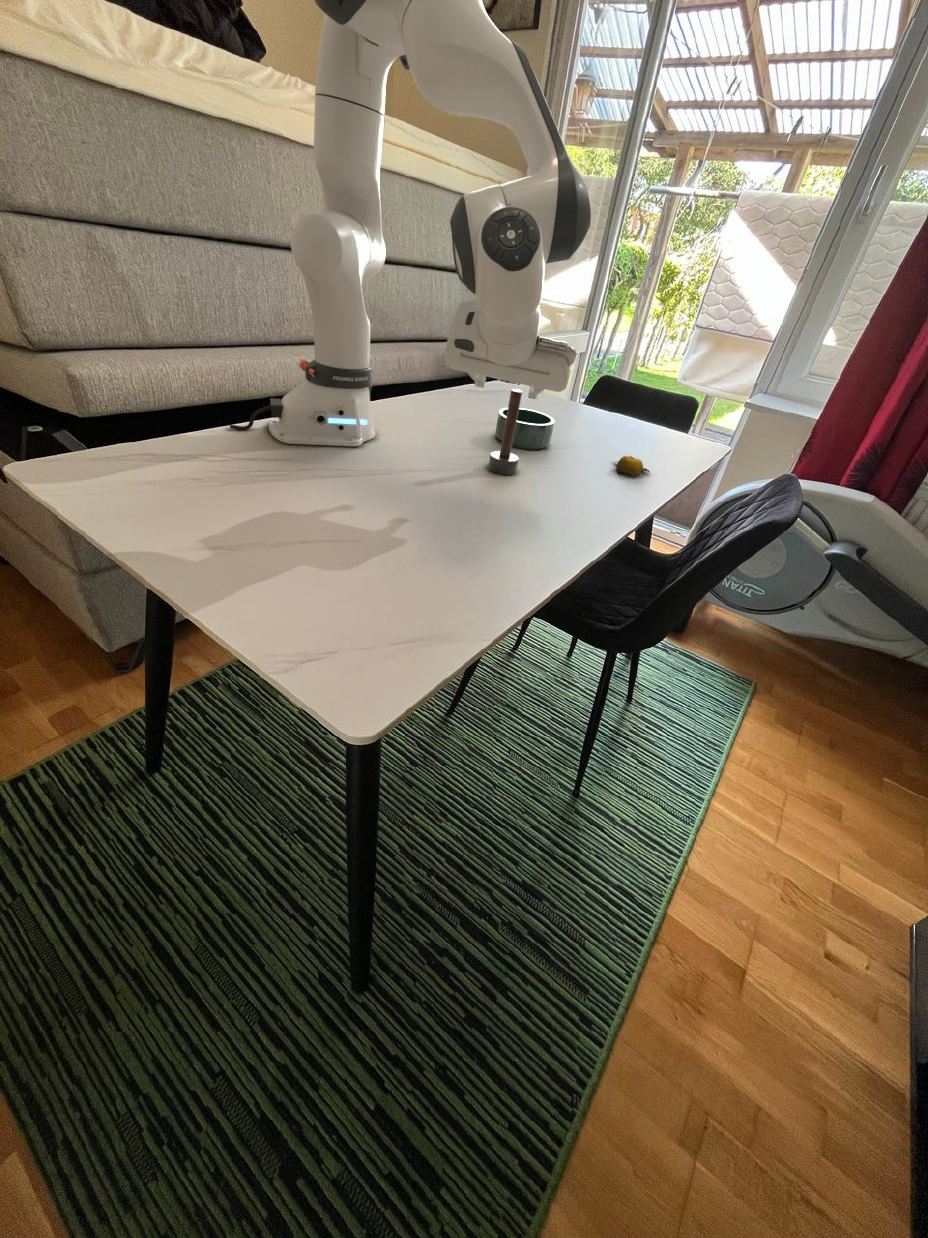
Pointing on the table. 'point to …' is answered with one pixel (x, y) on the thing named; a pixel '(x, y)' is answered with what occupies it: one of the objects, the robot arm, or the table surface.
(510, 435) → the ring toss peg
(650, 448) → the table surface
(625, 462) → the fruit
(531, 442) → the bowl
